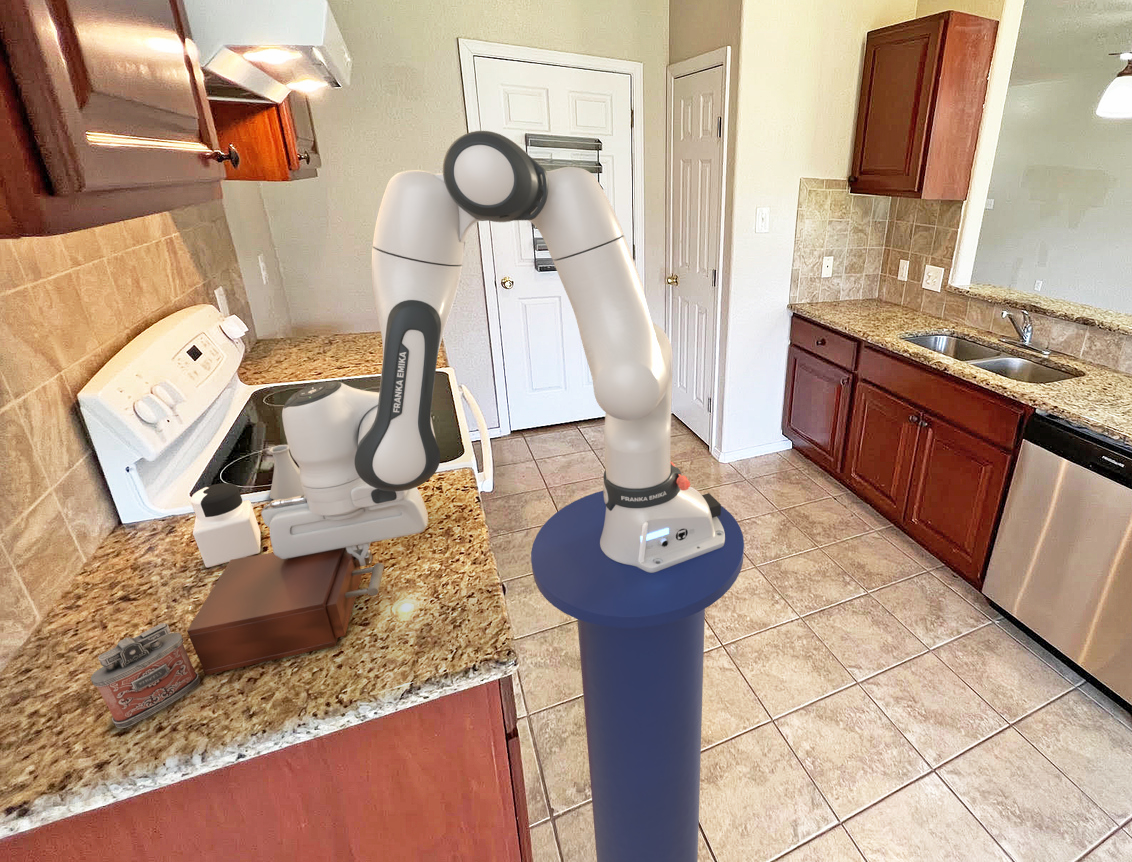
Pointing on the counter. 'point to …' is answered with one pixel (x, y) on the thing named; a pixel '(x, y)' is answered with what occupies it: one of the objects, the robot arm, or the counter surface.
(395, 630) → the counter surface
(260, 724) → the counter surface
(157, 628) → the lighter
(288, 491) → the flask
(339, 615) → the drawer
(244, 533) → the medicine bottle
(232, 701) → the counter surface
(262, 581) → the cabinet
